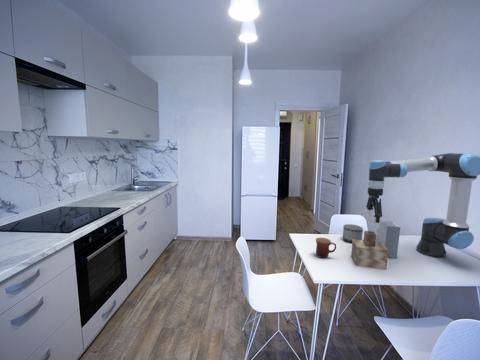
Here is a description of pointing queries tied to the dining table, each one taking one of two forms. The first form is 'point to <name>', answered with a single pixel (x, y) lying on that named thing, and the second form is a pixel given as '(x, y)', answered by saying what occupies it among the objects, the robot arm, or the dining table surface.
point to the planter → (352, 232)
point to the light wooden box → (369, 258)
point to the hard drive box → (389, 236)
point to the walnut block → (369, 238)
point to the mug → (323, 247)
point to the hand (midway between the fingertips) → (372, 224)
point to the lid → (378, 246)
